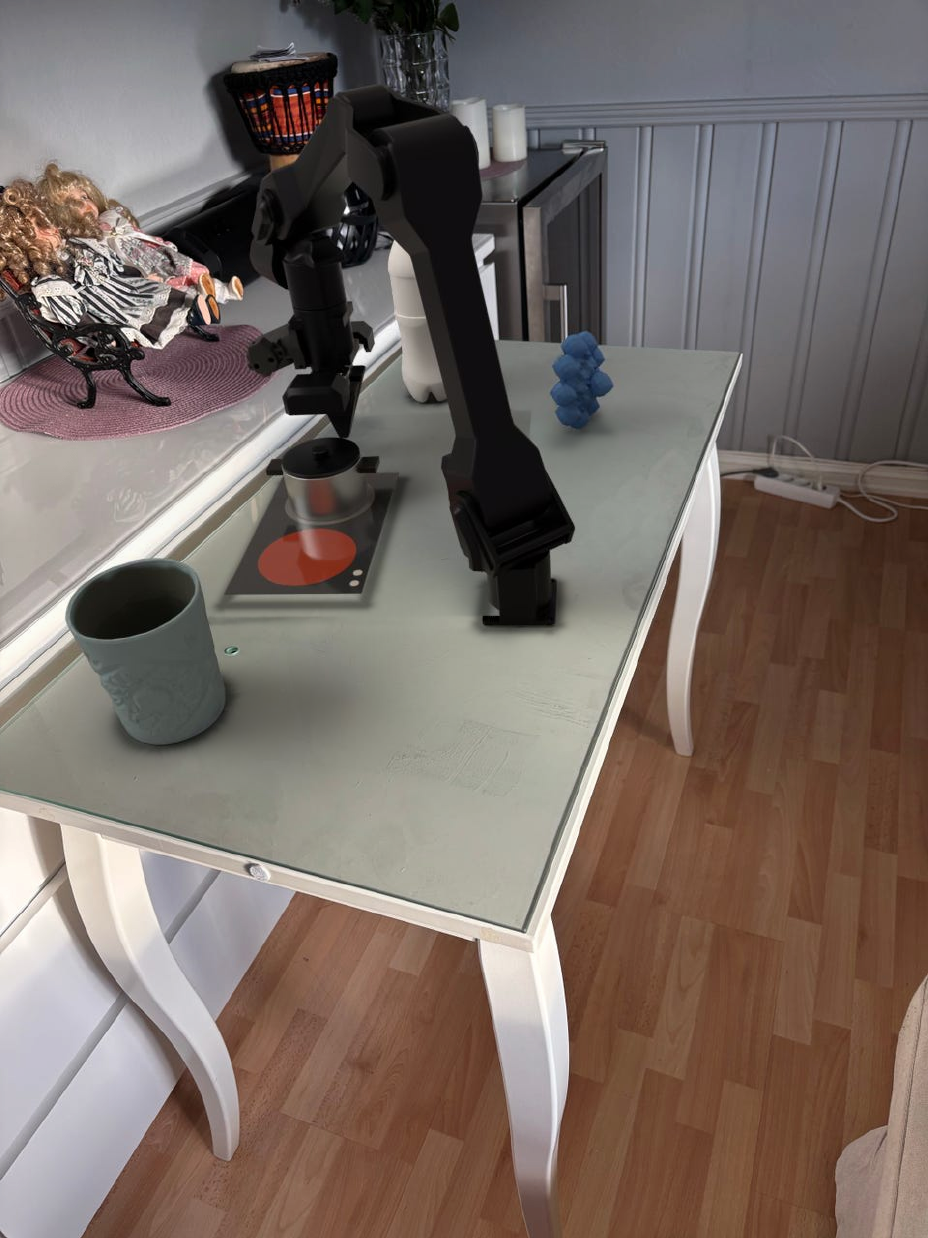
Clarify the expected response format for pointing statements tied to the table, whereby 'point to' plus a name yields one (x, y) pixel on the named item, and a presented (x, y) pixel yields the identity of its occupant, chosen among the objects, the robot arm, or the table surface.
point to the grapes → (579, 380)
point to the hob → (313, 547)
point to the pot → (325, 477)
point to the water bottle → (413, 330)
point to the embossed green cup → (151, 647)
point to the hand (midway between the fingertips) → (344, 436)
